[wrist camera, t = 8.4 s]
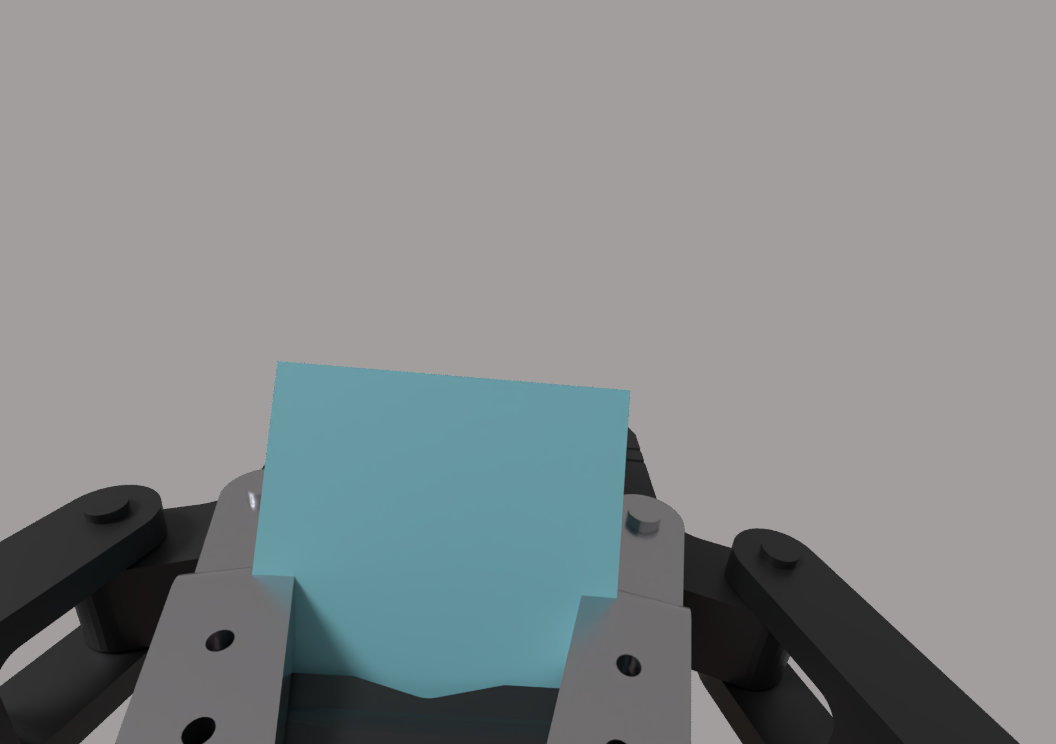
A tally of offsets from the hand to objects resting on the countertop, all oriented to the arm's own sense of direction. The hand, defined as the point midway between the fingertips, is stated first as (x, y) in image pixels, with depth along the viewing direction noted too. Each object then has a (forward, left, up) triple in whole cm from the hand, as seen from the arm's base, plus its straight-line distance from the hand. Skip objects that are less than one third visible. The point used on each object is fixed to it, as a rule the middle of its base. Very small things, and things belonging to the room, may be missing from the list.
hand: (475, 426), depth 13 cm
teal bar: (-6, +3, -3) cm, 7 cm away
